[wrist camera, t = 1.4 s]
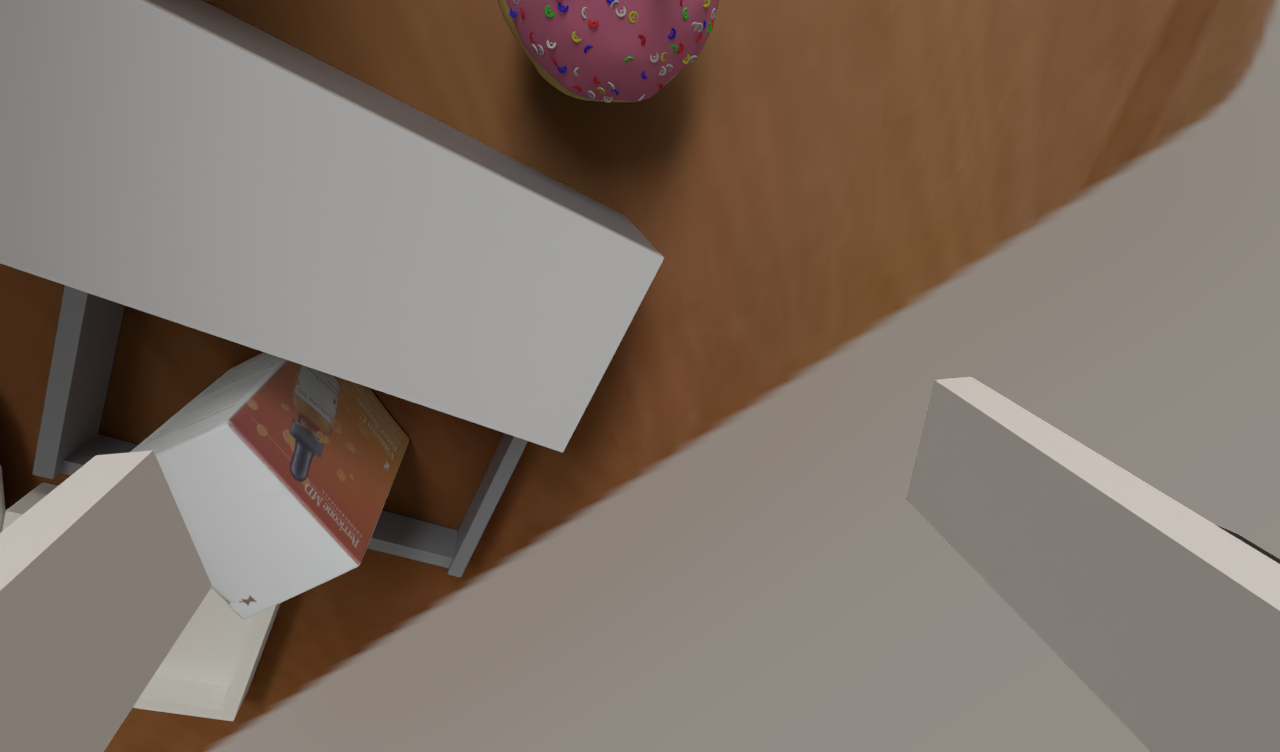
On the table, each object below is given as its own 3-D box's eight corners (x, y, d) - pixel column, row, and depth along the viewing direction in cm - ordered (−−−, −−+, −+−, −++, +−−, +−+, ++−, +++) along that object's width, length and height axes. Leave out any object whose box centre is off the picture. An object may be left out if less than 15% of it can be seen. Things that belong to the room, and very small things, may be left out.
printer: (77, 441, 30) (-107, 576, 21) (168, -18, 23) (-51, -95, 14) (465, 543, 36) (446, 676, 28) (624, 215, 30) (664, 257, 21)
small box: (412, 438, 33) (366, 570, 23) (325, 479, 33) (244, 627, 24) (324, 320, 29) (227, 419, 20) (226, 366, 29) (84, 486, 20)
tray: (12, 650, 34) (-23, 686, 32) (42, 482, 30) (5, 510, 28) (249, 687, 38) (233, 721, 36) (302, 543, 34) (288, 572, 32)
